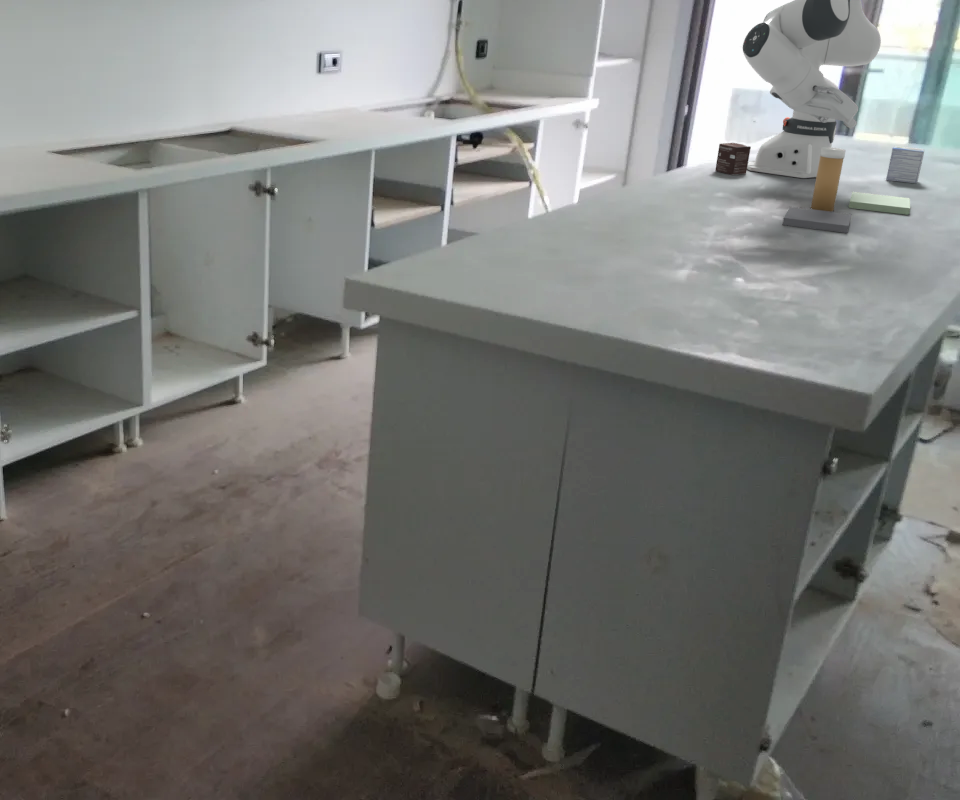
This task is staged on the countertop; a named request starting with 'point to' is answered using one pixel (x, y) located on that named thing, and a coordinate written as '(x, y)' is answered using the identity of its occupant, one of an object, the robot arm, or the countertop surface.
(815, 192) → the pill bottle
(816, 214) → the tile
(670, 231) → the countertop surface
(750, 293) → the countertop surface
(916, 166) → the medicine box
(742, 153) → the box
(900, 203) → the tile
